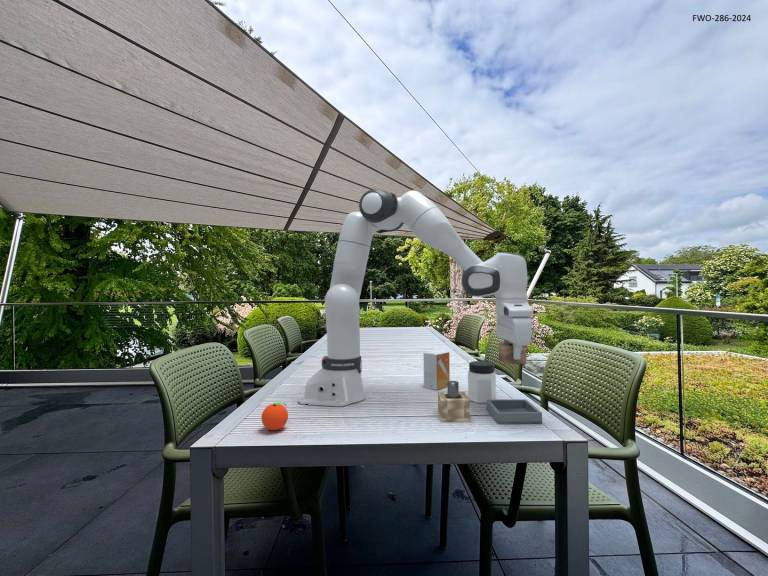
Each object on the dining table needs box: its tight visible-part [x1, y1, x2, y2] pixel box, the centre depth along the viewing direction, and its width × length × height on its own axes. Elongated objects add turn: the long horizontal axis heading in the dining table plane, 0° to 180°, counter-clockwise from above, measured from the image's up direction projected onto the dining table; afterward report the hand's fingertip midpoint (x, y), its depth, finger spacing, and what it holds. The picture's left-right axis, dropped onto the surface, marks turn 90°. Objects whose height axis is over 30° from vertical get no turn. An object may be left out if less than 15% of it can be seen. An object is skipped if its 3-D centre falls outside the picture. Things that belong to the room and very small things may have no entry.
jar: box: [467, 360, 497, 404], centre depth 124 cm, size 9×8×12 cm
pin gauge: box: [446, 380, 460, 399], centre depth 108 cm, size 3×3×9 cm
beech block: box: [437, 391, 471, 423], centre depth 109 cm, size 8×8×6 cm
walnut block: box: [497, 342, 528, 365], centre depth 108 cm, size 6×6×5 cm
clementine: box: [261, 402, 289, 431], centre depth 102 cm, size 8×7×7 cm
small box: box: [423, 349, 451, 391], centre depth 141 cm, size 8×6×13 cm
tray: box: [486, 398, 543, 425], centre depth 108 cm, size 12×12×3 cm
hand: (512, 356), depth 108 cm, fingers closed on walnut block, 6 cm apart
